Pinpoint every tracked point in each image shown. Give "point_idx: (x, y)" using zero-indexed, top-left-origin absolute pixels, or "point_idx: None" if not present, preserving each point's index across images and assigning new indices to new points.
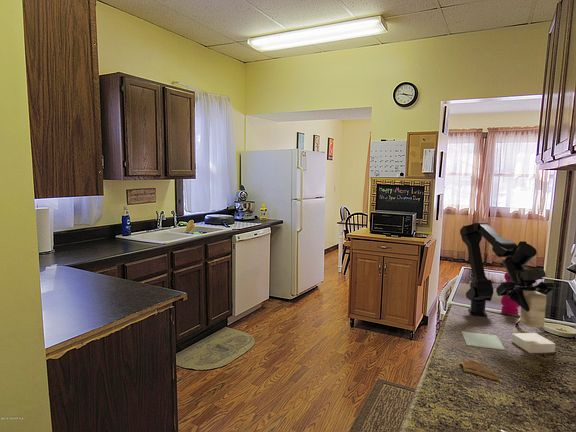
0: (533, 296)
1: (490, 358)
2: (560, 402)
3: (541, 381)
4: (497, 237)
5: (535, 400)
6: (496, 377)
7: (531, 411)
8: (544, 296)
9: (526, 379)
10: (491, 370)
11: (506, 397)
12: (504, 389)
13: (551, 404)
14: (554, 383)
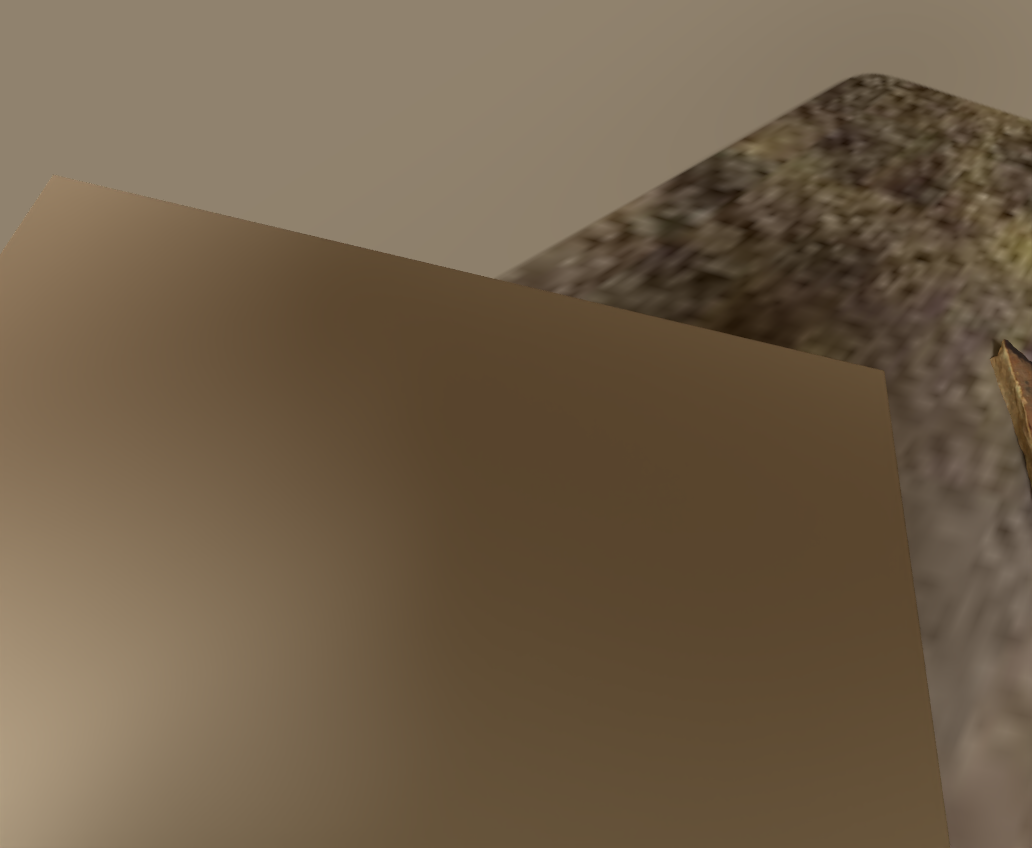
0: (814, 378)
1: (924, 611)
2: (795, 152)
3: (756, 284)
4: None
5: (898, 194)
6: (1021, 358)
7: (959, 158)
8: (203, 245)
9: (829, 323)
10: (1029, 418)
11: (1018, 248)
12: (1000, 293)
13: (846, 157)
14: (696, 249)
